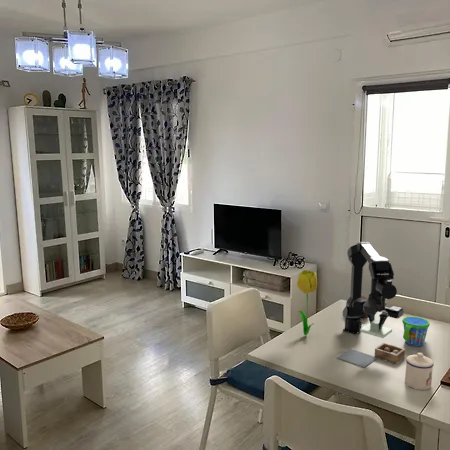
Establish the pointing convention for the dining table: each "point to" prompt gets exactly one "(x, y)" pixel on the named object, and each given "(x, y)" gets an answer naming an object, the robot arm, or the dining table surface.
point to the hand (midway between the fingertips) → (376, 328)
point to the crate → (390, 353)
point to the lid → (376, 329)
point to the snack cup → (415, 330)
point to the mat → (357, 358)
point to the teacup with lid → (419, 371)
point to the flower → (306, 285)
